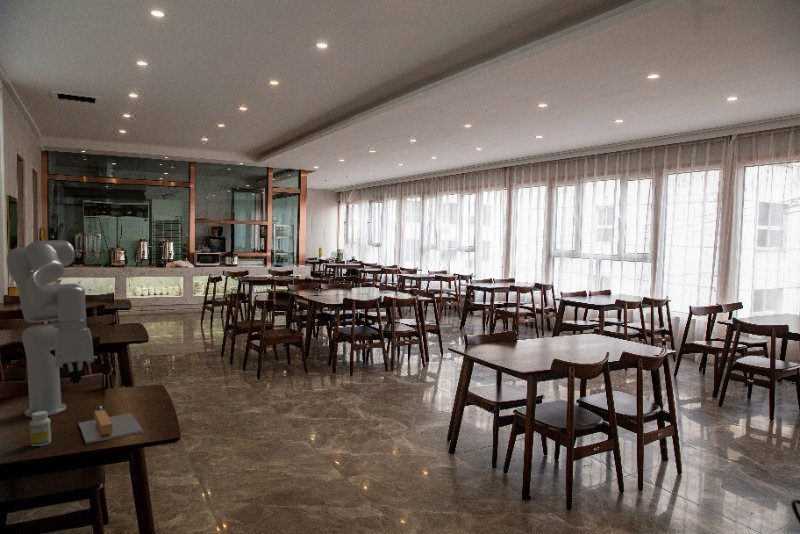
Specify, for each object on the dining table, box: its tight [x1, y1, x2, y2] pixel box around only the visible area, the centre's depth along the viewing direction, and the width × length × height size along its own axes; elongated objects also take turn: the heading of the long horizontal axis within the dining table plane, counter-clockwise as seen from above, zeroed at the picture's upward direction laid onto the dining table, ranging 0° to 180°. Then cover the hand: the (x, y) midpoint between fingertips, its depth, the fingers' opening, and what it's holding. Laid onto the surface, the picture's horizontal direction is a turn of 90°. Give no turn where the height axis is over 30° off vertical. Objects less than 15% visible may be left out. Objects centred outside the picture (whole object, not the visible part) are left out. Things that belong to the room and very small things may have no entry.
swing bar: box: [94, 409, 113, 435], centre depth 176 cm, size 16×3×3 cm, turn 36°
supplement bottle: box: [29, 411, 52, 447], centre depth 166 cm, size 5×5×10 cm
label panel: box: [78, 405, 144, 445], centre depth 178 cm, size 20×16×6 cm
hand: (75, 382), depth 172 cm, fingers closed
